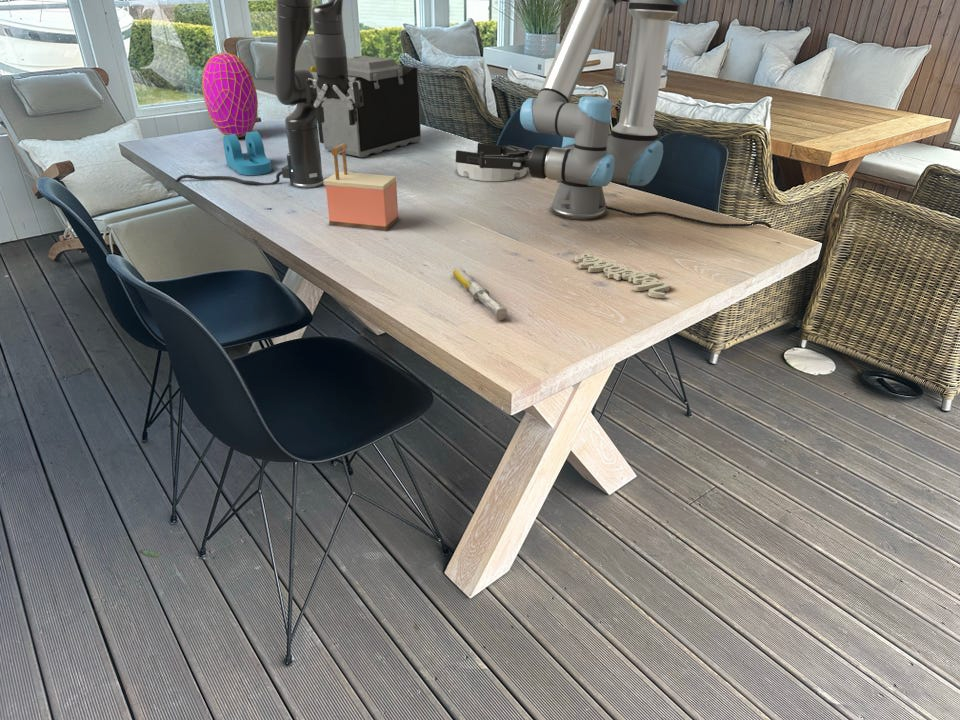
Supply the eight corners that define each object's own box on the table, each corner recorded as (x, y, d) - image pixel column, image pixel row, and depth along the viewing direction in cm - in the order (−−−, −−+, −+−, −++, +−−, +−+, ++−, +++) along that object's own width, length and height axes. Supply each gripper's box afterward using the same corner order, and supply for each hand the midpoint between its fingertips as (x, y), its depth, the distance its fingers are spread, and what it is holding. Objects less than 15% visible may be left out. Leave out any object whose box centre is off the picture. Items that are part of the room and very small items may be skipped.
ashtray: (459, 161, 239) (459, 150, 237) (525, 163, 239) (526, 151, 237) (455, 180, 219) (455, 167, 217) (527, 181, 219) (528, 169, 217)
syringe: (449, 274, 155) (449, 263, 153) (465, 272, 156) (464, 260, 154) (490, 323, 135) (491, 310, 133) (508, 319, 136) (508, 307, 134)
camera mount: (227, 164, 233) (221, 132, 227) (257, 160, 238) (252, 129, 233) (244, 176, 220) (239, 143, 215) (276, 172, 225) (271, 139, 220)
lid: (323, 184, 177) (319, 148, 173) (338, 175, 185) (335, 140, 180) (383, 190, 174) (381, 153, 169) (396, 180, 181) (394, 145, 177)
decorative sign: (686, 282, 150) (660, 295, 144) (686, 286, 150) (659, 300, 144) (592, 249, 166) (565, 259, 160) (592, 253, 167) (565, 263, 161)
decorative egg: (227, 145, 256) (212, 58, 241) (201, 136, 267) (185, 53, 252) (272, 137, 268) (260, 53, 253) (245, 129, 280) (233, 49, 264)
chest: (329, 225, 183) (325, 185, 177) (344, 214, 190) (340, 175, 185) (386, 230, 179) (383, 190, 174) (398, 219, 187) (396, 180, 181)
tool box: (383, 133, 276) (378, 52, 261) (425, 141, 265) (422, 56, 250) (314, 150, 251) (304, 61, 235) (358, 160, 240) (350, 67, 224)
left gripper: (364, 53, 166) (369, 122, 175) (310, 51, 169) (317, 119, 178) (351, 57, 160) (357, 128, 168) (296, 54, 163) (304, 125, 171)
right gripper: (530, 188, 156) (446, 176, 163) (561, 170, 177) (485, 159, 183) (533, 154, 153) (447, 143, 159) (564, 140, 173) (486, 130, 180)
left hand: (337, 123), depth 173 cm, fingers open, 8 cm apart
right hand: (467, 152), depth 171 cm, fingers open, 13 cm apart
